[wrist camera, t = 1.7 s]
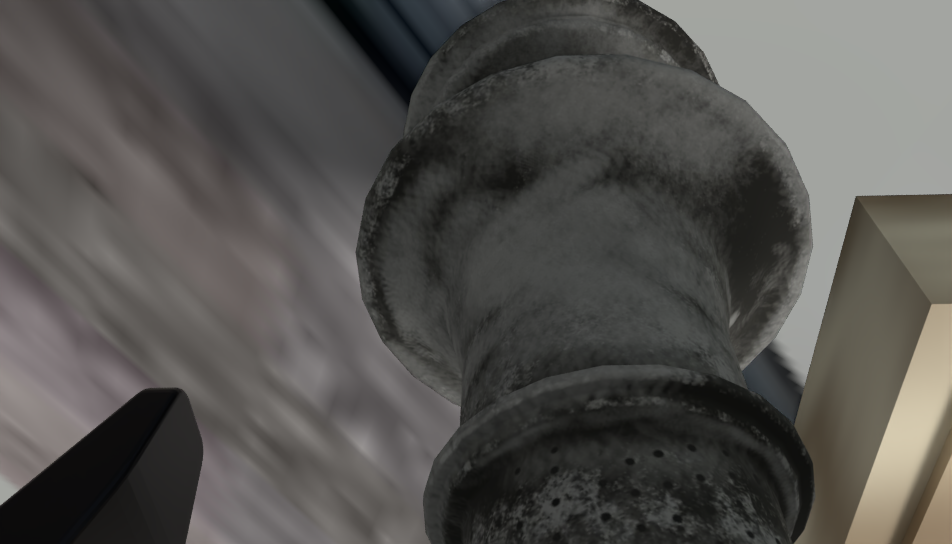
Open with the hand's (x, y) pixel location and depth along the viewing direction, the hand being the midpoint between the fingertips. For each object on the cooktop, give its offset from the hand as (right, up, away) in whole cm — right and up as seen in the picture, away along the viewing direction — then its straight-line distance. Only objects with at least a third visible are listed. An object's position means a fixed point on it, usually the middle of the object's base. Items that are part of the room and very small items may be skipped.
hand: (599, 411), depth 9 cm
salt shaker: (0, +4, +5) cm, 6 cm away
